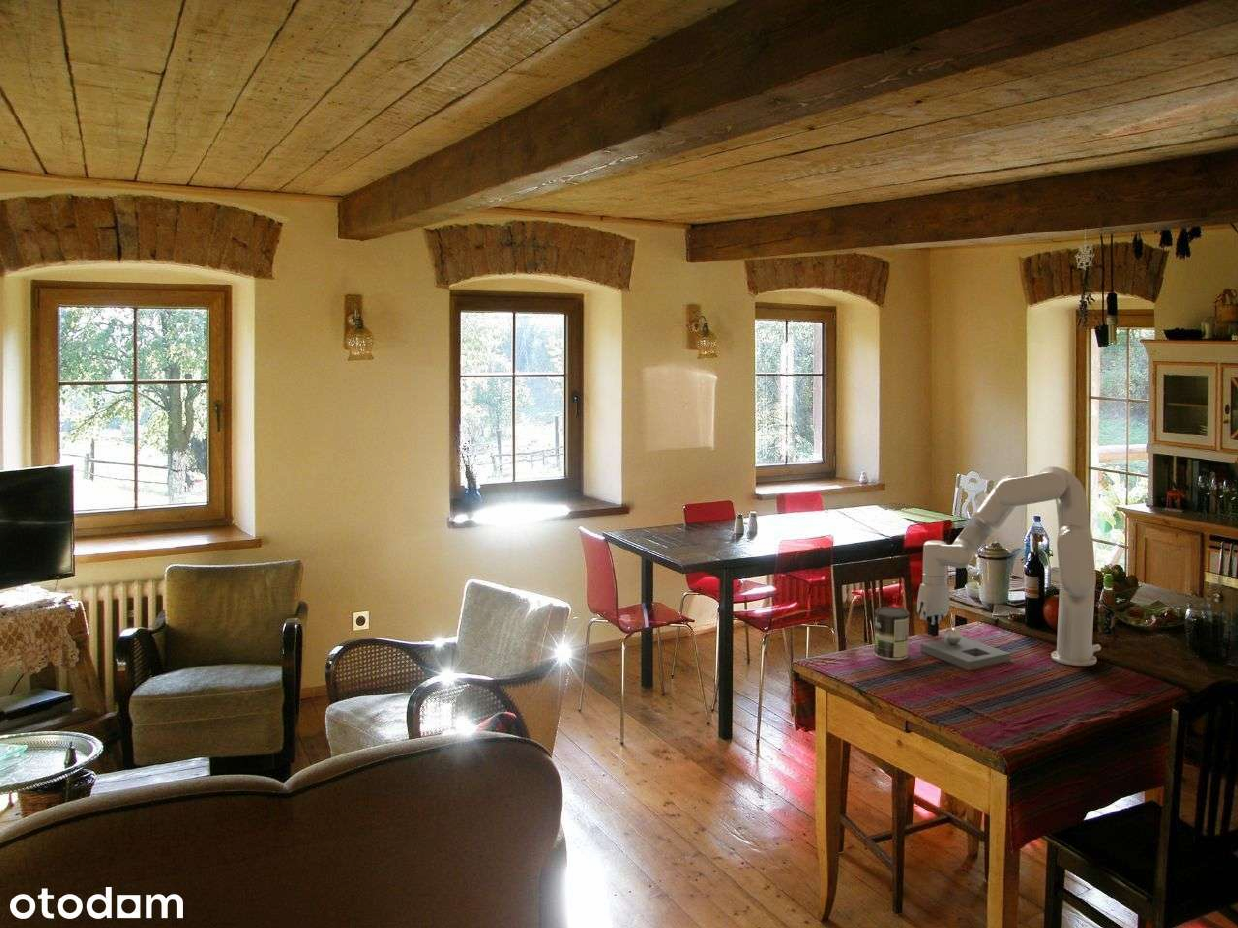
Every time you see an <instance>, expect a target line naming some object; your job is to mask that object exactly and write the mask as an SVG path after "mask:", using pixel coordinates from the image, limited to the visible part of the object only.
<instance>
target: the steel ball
mask: <svg viewBox="0 0 1238 928" xmlns="http://www.w3.org/2000/svg"><path fill="white" fill-rule="evenodd" d="M961 636H962V633H961V631H960V630H959V629H957V628H954V627H951V628H948V629H947V630H946V631H945V632H944V639H946V641H947V642H948V643H950V644H957V643H959V642H960V640H961Z"/></svg>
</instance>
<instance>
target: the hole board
mask: <svg viewBox="0 0 1238 928" xmlns="http://www.w3.org/2000/svg"><path fill="white" fill-rule="evenodd" d="M920 652H922V653H924V654H927V655H929V656H932V657H933V658H936V659H939V660H942V661H944V662H947V663H949V664H952V665H953V666H957V667H959V668H962V669H965V670H967V671H970V670H975V669H980V668H984V667H990V666H994V665H998V664H1003V663H1007V662H1011V653H1010V652H1008V651H1005V650H1002V649H999V648H997V647H994V646H991V645H988V644H986V643H983V642H980V641H978V640H975V639H971V638H969V637H966V636H963V635H961V640H960V642H959V643H957V644H950V643H948V642H947V641H946V639H945V638H943V639H941V638H940V639H938V640H932V641H928V642H922V643H920Z"/></svg>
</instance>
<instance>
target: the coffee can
mask: <svg viewBox="0 0 1238 928" xmlns="http://www.w3.org/2000/svg"><path fill="white" fill-rule="evenodd" d="M874 612H875V620H874V623H875V624H874V653H873V654H874V656H875V657H876V658H879V659H882V660H886V661H902V660H906V659H907V658H908V657H909V631H910V630H909V627H910V624H909V623H910V615H911V614H910V611H909V610H908V609H905V608H901V607H897V606H895V607H894V606H884V607H883V606H882V607H878V608H876V609H875V611H874Z"/></svg>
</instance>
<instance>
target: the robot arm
mask: <svg viewBox="0 0 1238 928" xmlns="http://www.w3.org/2000/svg"><path fill="white" fill-rule="evenodd" d="M1054 500H1055V503H1056V512H1057V520H1058V521H1057V522H1058V533H1057V534H1058V535H1057V540H1056V541H1057V543H1056V547H1057V549H1056V550H1057V558H1058V570H1059V581H1060V582H1059V583H1060V584H1059V602H1058V603H1059V604H1058V620H1057V621H1058V622H1057V637H1056V638H1057V641H1056V650H1054V651H1052V652H1051V653H1050V655H1051V656H1050V658H1051V659H1052V660H1053V661H1055V662H1056V663H1058V664H1063V665H1066V666H1072V667H1073V666H1075V667H1089V666H1090V667H1091V666H1093V665H1095V664H1096V663H1097V657H1096V655H1094V653H1095V652H1098V651H1101V649H1102V646H1101V645H1100V644H1099V643H1098V644H1093V627H1094V626H1093V625H1094V622H1093V621H1094V611H1095V610H1094V608H1095V589H1096V588H1095V587H1096V580H1097V579H1096V575H1097V574H1096V569H1095V553H1094V543H1093V542H1094V540H1093V536H1092V531H1091V525H1090V516H1089V515H1090V514H1089V507H1088V505H1089V504H1088V500H1087V494H1086V491H1085V488H1084V486H1083V484H1082V483H1081V481H1080V480H1079V479H1078V477H1076V475H1074V474H1073V473H1072V472H1070V471H1069V470H1067V469H1064V468H1062V467H1060V466H1055V465H1054V466H1052V465H1050V466H1046V467H1044V468H1043V469H1041V470H1040V471H1039V472H1038V473H1036V474H1031V475H1025V476H1018V475H1014V474H1007V475H1005V476H1003V477H1001V478H1000V479H999V481H998V482H997V483H996V484H995V485H994V487H993V488H992V489H991V490H990V492H989V494H988V495H987V496H986V497H985V499H984V500H983V501H982V503H981V504H980V505H979V507H978V508H977V509H976V510H975V512H974V513H973V515H972V516H971V519H970V520H969V521H968V523H967V524H966V525H965V527H964V528H963V529H962V531H961V532H960V533H959V535H958V536H957V537H956V538H955V540H954V541H953V542H952V544H947V542H945V541H944V540H937V539H936V540H927V541H925V542H924V544H923V548H922V581H921V582H922V583H920V584H919V588H918V592H917V601H916V612H917V614H919V619H920V620H923V621H925V622H926V623H927V635H928V636H931V637H934V638H935V637H938V636H939V635H940V628H939V627H940V624H941V622H942V619H943V618H944V617H946V616H947V615H948V612H949V611H950V606H951V605H950V602H951V599H950V589H949V587H950V586H949V583H948V578H949V574H948V567H950V568H956V569H964V568H967V567H969V566H970V565H971V563H972V561H973V559H974V557H975V555H976V554H977V552H978V551H979V550H980V548H981V547H982V546H983V544H985V542H986V541H987V540H988V538H989V537H990V536H991V535H992V534H993V533H995V532H996V531H998V530H999V529H1000V527H1002V525H1003V524H1004V523H1005V521H1006V520H1007V519H1008V517H1010V515H1011V514H1012V512H1013V511H1014V510H1015V508H1016V507H1018V506H1019V507H1020V506H1026V505H1031V504H1037V503H1043V502H1049V501H1054Z"/></svg>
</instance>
